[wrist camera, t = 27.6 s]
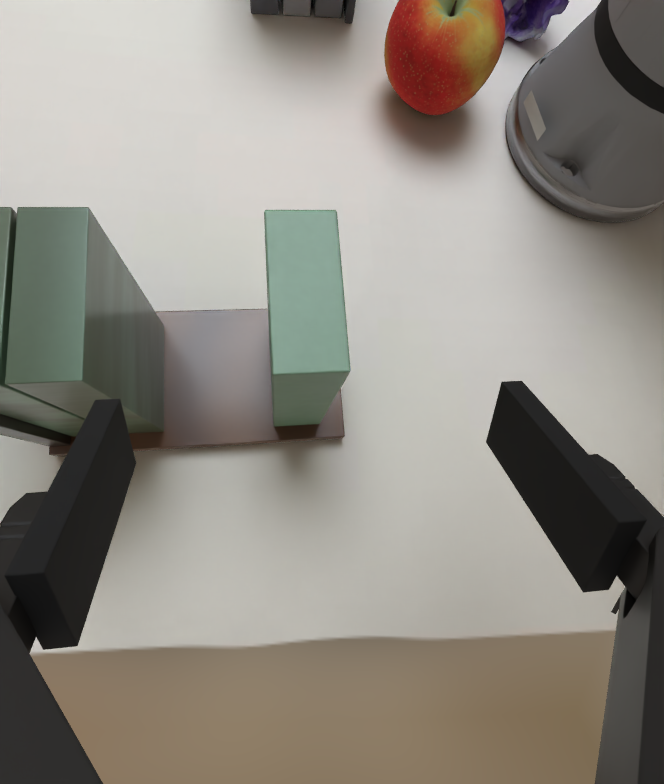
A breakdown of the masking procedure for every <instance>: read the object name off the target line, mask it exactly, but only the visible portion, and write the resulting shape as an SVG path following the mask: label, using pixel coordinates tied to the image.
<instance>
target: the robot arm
mask: <svg viewBox="0 0 664 784" xmlns="http://www.w3.org/2000/svg"><path fill="white" fill-rule="evenodd" d="M506 133H507V140H508V144H509V148H510V151H511V153H512V156H513V158H514V160H515V162H516V164H517V166H518V168H519V170H520V171H521V173H522V174H523V175H524V177H525V178H526V179H527V181H528V182H529V183H530V184H531V185H532V186H533V187H534V188H535V189H536V190H537V191H538V192H539V193H540V194H541V195H542V196H543V197H544V198H546V199H547V200H548V201H550V202H551V203H553V204H554V205H556V206H557V207H559V208H561V209H563V210H565V211H567V212H569V213H571V214H573V215H576V216H579V217H582V218H585V219H589V220H593V221H599V222H624V221H629V220H633V219H637V218H639V217H642V216H644V215H646V214H648V213H650V212H651V211H653V210H654V209H656V208H657V207H658V206H660V205H661V204H662V203H664V0H602V1H601V2H600V4H599V5H598V6H597V8H596V9H595V10H594V11H593V12H592V13H591V14H590V15H589V16H588V17H587V18H586V19H585V20H584V21H583V22H582V23H580V24H579V25H578V26H577V27H576V28H575V29H574V30H573V31H572V32H571V33H570V34H569V35H568V37H567V38H566V39H565V40H564V41H563V42H562V43H561V44H560V45H559V46H558V47H556V48H554V49H553V50H551V51H550V52H548V53H547V54H546V55H544V56H543V57H542V58H541V59H539V60H538V61H537V62H536V63H535V64H534V65H533V66H532V67H531V68H530V69H529V71H528V72H527V74H526V75H525V77H524V78H523V80H522V82H521V84H520V85H519V87H518V89H517V90H516V92H515V94H514V96H513V98H512V100H511V102H510V105H509V108H508V112H507V118H506ZM486 443H487V444H488V446H489V447H490V449H491V450H492V452H493V454H494V455H495V457H496V458H497V460H498V461H499V463H500V464H501V466H502V467H503V469H504V471H505V472H506V474H507V475H508V477H509V478H510V480H511V481H512V483H513V484H514V486H515V488H516V489H517V491H518V492H519V494H520V495H521V497H522V498H523V500H524V501H525V503H526V505H527V506H528V508H529V509H530V511H531V512H532V514H533V515H534V517H535V518H536V520H537V522H538V523H539V525H540V526H541V528H542V529H543V531H544V532H545V534H546V535H547V537H548V539H549V540H550V542H551V543H552V545H553V546H554V548H555V549H556V551H557V552H558V554H559V556H560V557H561V559H562V560H563V562H564V563H565V565H566V566H567V568H568V569H569V571H570V573H571V574H572V576H573V577H574V579H575V580H576V582H577V583H578V585H579V586H580V588H581V590H582V591H583V592H591V591H601V590H609V588H610V587H611V585H612V583H613V581H614V579H615V577H616V576H618V577H619V579H620V580H621V581H622V583H623V584H624V585H625V588H624V590H623V592H622V593H621V595H620V597H619V599H618V600H617V602H616V604H615V606H614V607H613V609H612V611H611V612H612V613H614V614H616V613H617V611H618V609H619V613H618V620H617V627H616V635H615V642H614V649H613V656H612V663H611V670H610V679H609V685H608V692H607V699H606V706H605V714H604V721H603V728H602V735H601V742H600V750H599V757H598V764H597V771H596V778H595V784H664V517H663V516H662V515H661V514H660V513H659V512H658V511H657V510H656V509H655V508H654V507H653V506H652V504H651V503H650V502H649V501H648V500H647V499H646V498H645V497H644V496H643V495H642V494H641V493H640V492H639V491H638V490H637V489H635V487H634V485H633V484H632V483H631V482H630V481H629V480H628V479H625V476H624V475H623V474H622V473H621V472H620V471H619V470H618V469H617V467H616V466H615V465H614V464H612V463H610V462H609V461H607V460H606V459H604V458H603V457H601V456H600V455H598V454H593V455H588V454H587V453H586V452H585V450H584V449H583V448H582V447H581V446H580V445H579V444H578V443H577V442H576V440H575V439H574V438H573V437H572V436H571V435H570V434H569V433H568V432H567V431H566V429H565V428H564V427H563V426H562V425H561V424H560V423H559V422H558V421H557V419H556V418H555V417H554V416H553V415H552V414H551V413H550V412H549V411H548V409H547V408H546V407H545V406H544V405H543V404H542V403H541V402H540V401H539V400H538V398H537V397H536V396H535V395H534V394H533V393H532V392H531V391H530V390H529V388H528V387H527V386H526V385H525V384H524V383H523V382H522V381H510V382H502V383H501V387H500V391H499V395H498V398H497V402H496V406H495V410H494V414H493V418H492V422H491V425H490V429H489V433H488V437H487V441H486ZM135 466H136V461H135V457H134V453H133V448H132V444H131V440H130V436H129V432H128V428H127V424H126V420H125V416H124V412H123V408H122V404H121V400H120V399H101V400H95V401H94V403H93V405H92V407H91V409H90V411H89V413H88V415H87V417H86V419H85V421H84V423H83V425H82V426H81V428H80V430H79V432H78V434H77V436H76V438H75V440H74V442H73V444H72V446H71V448H70V450H69V452H68V453H67V455H66V457H65V459H64V461H63V463H62V465H61V467H60V469H59V471H58V473H57V475H56V477H55V479H54V480H53V482H52V484H51V486H50V488H49V490H48V492H37V493H26V494H25V495H24V496H23V497H22V498H20V499H19V500H18V501H17V502H16V503H15V504H14V505H13V506H11V507H10V508H9V510H8V512H7V514H6V515H5V517H4V519H3V520H2V522H1V524H0V525H1V526H0V784H103V783H102V781H101V779H100V778H99V776H98V774H97V772H96V770H95V769H94V767H93V765H92V763H91V762H90V760H89V758H88V756H87V755H86V753H85V751H84V749H83V747H82V746H81V744H80V742H79V740H78V739H77V737H76V735H75V733H74V732H73V730H72V728H71V726H70V725H69V723H68V721H67V719H66V718H65V716H64V714H63V712H62V710H61V709H60V707H59V705H58V704H57V702H56V700H55V698H54V696H53V695H52V693H51V691H50V689H49V688H48V686H47V684H46V682H45V681H44V679H43V677H42V675H41V674H40V672H39V670H38V668H37V666H36V665H35V663H34V662H33V659H32V658H31V656H30V654H29V653H30V650H31V648H32V645H33V643H34V640H35V638H36V637H37V639H38V641H39V642H40V644H41V646H42V648H43V650H45V649H54V648H63V647H73V646H78V643H79V640H80V636H81V633H82V630H83V627H84V624H85V621H86V618H87V615H88V612H89V609H90V605H91V602H92V599H93V596H94V593H95V590H96V587H97V584H98V581H99V577H100V574H101V571H102V568H103V565H104V562H105V559H106V556H107V553H108V550H109V546H110V543H111V540H112V537H113V534H114V531H115V528H116V525H117V522H118V518H119V515H120V512H121V509H122V506H123V503H124V500H125V497H126V494H127V490H128V487H129V484H130V481H131V478H132V475H133V472H134V469H135Z"/></svg>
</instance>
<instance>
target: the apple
mask: <svg viewBox="0 0 664 784" xmlns="http://www.w3.org/2000/svg"><path fill="white" fill-rule="evenodd" d="M504 39H505V16H504V10H503V5H502V2H501V0H399V2H398V3H397V5H396V7H395V10H394V12H393V14H392V17H391V19H390V22H389V26H388V30H387V34H386V39H385V53H384V57H385V66H386V71H387V75H388V78H389V81H390V83H391V85H392V87H393V89H394V90H395V91H396V93H397V94H398V95H399V97H400V98H401V99H402V100H403V101H404V102H405V103H407V104H408V105H409V106H410V107H412V108H413V109H415V110H417V111H419V112H421V113H424V114H428V115H442V114H445V113H449V112H451V111H453V110H455V109H457V108H459V107H460V106H462V105H463V104H465V103H466V102H467V101H469V100H470V99H471V98H472V97H473V96H474V95H475V94H476V93H477V91H478V90H479V89H480V88H481V87H482V86H483V84H484V83H485V82H486V80H487V79H488V78H489V76H490V74H491V73H492V71H493V69H494V67H495V65H496V64H497V62H498V60H499V57H500V54H501V52H502V48H503V44H504Z"/></svg>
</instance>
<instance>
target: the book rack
mask: <svg viewBox="0 0 664 784" xmlns="http://www.w3.org/2000/svg"><path fill="white" fill-rule="evenodd" d="M101 399H120V400H121V404H122V408H123V412H124V416H125V420H126V424H127V428H128V432H129V436H130V440H131V444H132V448H133V451H148V450H164V449H180V448H196V447H213V446H229V445H245V444H261V443H277V442H294V441H310V440H326V439H342V438H343V437H344V436H345V435H344V423H343V411H342V399H341V388H340V390H339V391H338V393H337V395H336V397H335V398H334V400H333V402H332V403H331V405H330V407H329V409H328V410H327V412H326V414H325V416H324V417H323V419H322V421H321V422H320V424H311V425H293V426H276V427H275V426H274V425H273V404H272V384H271V364H270V343H269V323H268V309H242V310H203V311H164V312H155V311H154V309H153V308H152V306H151V304H150V303H149V301H148V300H147V298H146V297H145V295H144V293H143V292H142V290H141V289H140V287H139V286H138V284H137V282H136V281H135V279H134V278H133V276H132V275H131V273H130V272H129V270H128V268H127V267H126V265H125V264H124V262H123V261H122V259H121V257H120V256H119V254H118V253H117V251H116V250H115V248H114V246H113V245H112V243H111V242H110V240H109V239H108V237H107V235H106V234H105V232H104V231H103V229H102V228H101V226H100V224H99V223H98V221H97V220H96V218H95V217H94V215H93V213H92V212H91V210H90V209H89V208H88V207H18V210H17V213H16V212H15V211H14V210H13V209H12V208H11V207H0V435H5V436H9V437H13V438H17V439H21V440H25V441H30V442H34V443H38V444H42V445H46V446H50V448H49V455H54V456H66V455H67V453H68V452H69V450H70V448H71V446H72V444H73V442H74V440H75V438H76V436H77V434H78V432H79V430H80V428H81V426H82V425H83V423H84V421H85V419H86V417H87V415H88V413H89V411H90V409H91V407H92V405H93V403H94V401H95V400H101Z"/></svg>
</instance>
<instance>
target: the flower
mask: <svg viewBox="0 0 664 784" xmlns="http://www.w3.org/2000/svg"><path fill="white" fill-rule="evenodd" d="M501 2H502V5H503V10H504V16H505V39H506V38H507V37H511V38H513V39H515V40H517V41H524V40H526V39H528V38H531V37H534V39H539V38H540V37H541V35H542V34H543V33H544V32H545V30H546V28H547V26H548V24H549V21H550V18H551V16H553V15H555V14H561V13H562V12H563V11H564V10H565V8H566V6H567V5H568V3H569V1H568V0H501ZM505 39H504V40H505Z"/></svg>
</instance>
